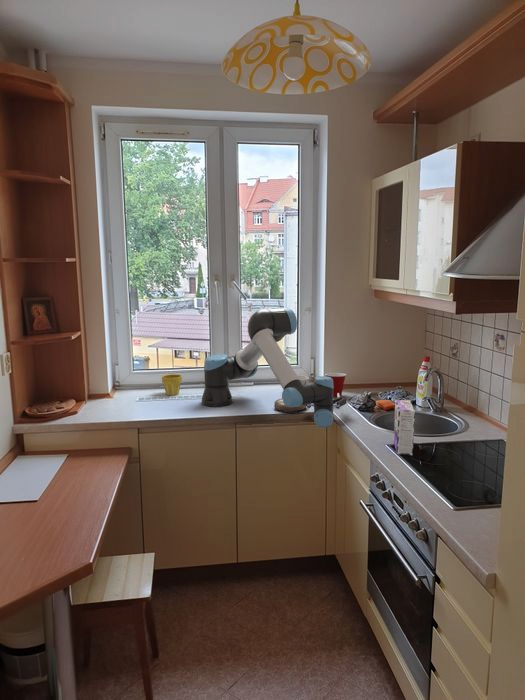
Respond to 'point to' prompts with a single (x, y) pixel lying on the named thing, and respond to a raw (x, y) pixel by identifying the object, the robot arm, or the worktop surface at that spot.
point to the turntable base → (290, 411)
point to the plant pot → (172, 383)
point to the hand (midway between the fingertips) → (323, 395)
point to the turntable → (282, 406)
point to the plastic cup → (337, 382)
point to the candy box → (404, 427)
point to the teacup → (303, 379)
